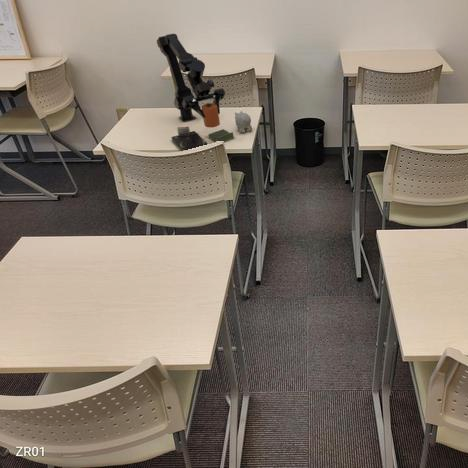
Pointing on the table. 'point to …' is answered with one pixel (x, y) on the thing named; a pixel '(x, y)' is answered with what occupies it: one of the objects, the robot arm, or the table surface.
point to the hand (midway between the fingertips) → (211, 115)
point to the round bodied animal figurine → (243, 122)
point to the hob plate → (192, 143)
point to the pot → (210, 115)
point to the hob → (179, 139)
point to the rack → (221, 135)
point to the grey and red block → (183, 131)
